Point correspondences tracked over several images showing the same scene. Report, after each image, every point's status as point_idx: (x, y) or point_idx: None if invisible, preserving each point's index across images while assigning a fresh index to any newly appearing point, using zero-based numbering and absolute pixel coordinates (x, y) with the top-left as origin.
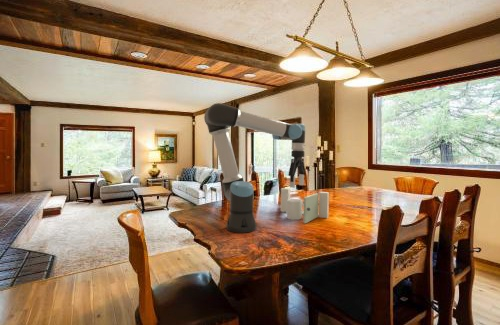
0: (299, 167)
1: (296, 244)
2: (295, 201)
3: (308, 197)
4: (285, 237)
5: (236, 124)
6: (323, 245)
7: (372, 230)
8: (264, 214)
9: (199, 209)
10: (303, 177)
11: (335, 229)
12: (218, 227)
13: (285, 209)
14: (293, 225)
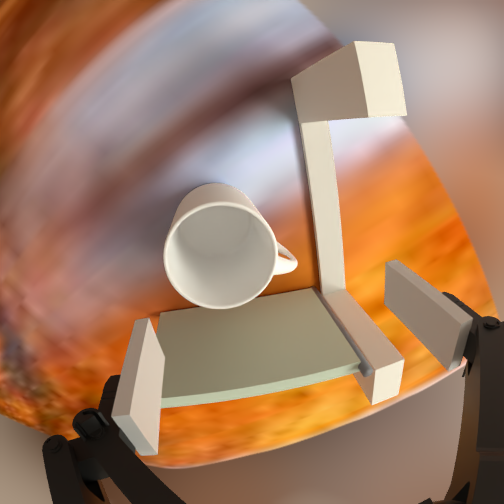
0: (466, 449)
1: (12, 381)
2: (266, 230)
3: (188, 402)
4: (11, 342)
5: None
6: (63, 422)
7: (273, 447)
8: (160, 55)
9: None
10: (433, 348)
11: (200, 404)
12: None
13: (301, 107)
14: (110, 293)
